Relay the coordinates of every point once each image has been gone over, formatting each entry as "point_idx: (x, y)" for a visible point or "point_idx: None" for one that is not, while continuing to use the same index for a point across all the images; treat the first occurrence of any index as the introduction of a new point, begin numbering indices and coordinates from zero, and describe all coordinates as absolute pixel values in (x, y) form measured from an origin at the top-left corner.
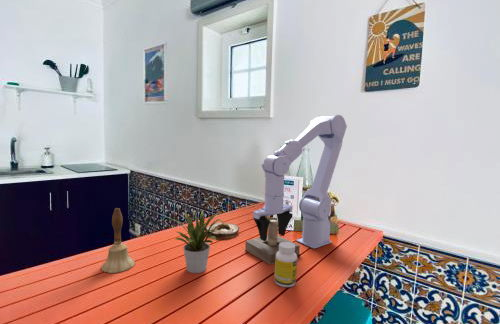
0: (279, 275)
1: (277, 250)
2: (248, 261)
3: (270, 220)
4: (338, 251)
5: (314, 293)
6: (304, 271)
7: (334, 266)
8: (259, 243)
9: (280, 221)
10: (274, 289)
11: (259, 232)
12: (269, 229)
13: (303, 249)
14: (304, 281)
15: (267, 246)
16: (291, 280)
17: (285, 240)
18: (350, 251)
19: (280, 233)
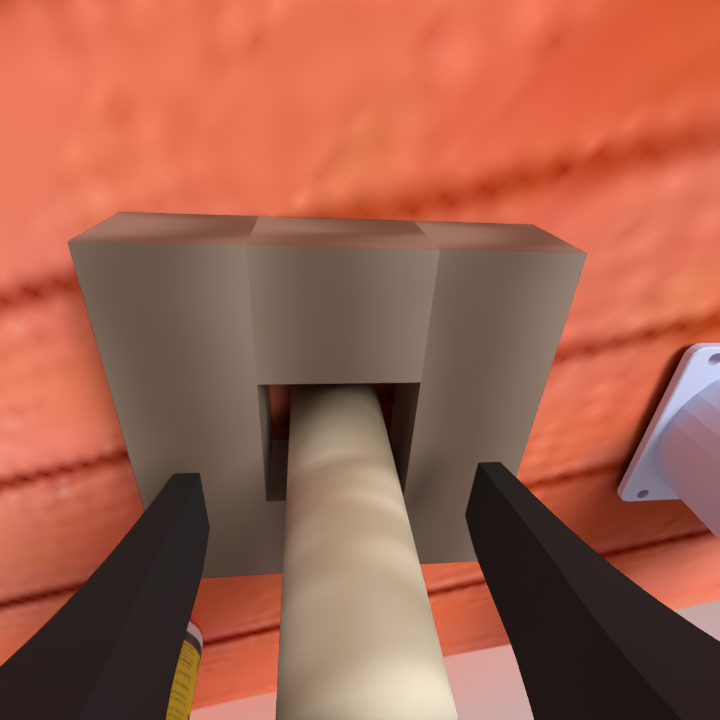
0: None
1: (265, 556)
2: (45, 412)
3: (362, 705)
4: (670, 558)
5: (213, 700)
6: None
7: (477, 629)
8: (207, 393)
9: (561, 646)
10: None
11: (127, 544)
12: (281, 604)
13: (564, 462)
14: (242, 654)
15: (239, 477)
16: None
17: (494, 458)
18: (707, 579)
19: (478, 498)
